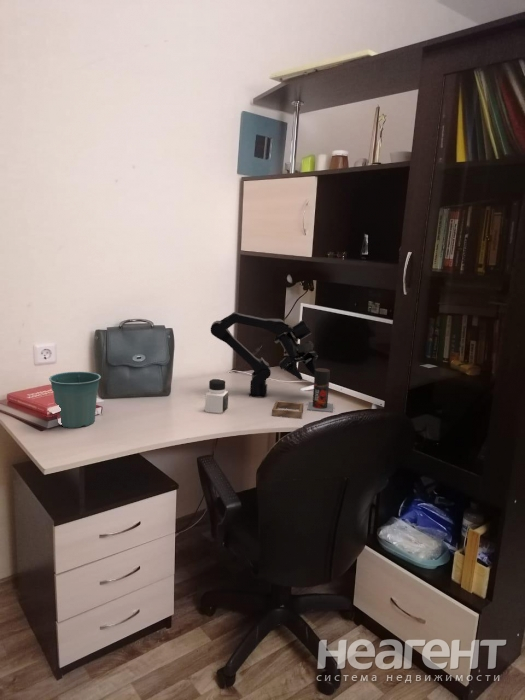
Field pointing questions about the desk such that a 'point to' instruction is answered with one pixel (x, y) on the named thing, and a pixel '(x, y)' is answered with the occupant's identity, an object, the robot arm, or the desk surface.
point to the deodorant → (321, 388)
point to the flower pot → (76, 397)
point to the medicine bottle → (216, 397)
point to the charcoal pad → (328, 409)
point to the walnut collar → (287, 412)
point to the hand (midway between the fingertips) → (309, 377)
